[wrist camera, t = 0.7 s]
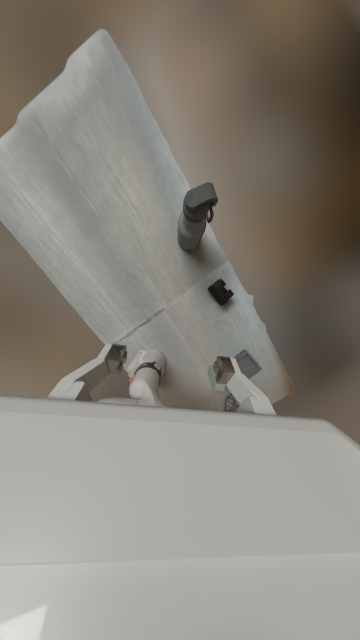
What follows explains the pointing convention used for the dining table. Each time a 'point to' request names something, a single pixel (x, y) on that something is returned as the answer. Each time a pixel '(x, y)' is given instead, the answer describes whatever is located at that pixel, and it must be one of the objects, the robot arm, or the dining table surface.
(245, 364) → the grey tray
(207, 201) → the water bottle
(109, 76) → the dining table surface
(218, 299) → the end cap
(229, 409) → the brain slice
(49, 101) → the dining table surface
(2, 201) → the dining table surface
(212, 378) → the sage block
